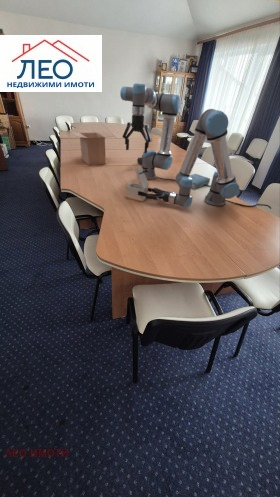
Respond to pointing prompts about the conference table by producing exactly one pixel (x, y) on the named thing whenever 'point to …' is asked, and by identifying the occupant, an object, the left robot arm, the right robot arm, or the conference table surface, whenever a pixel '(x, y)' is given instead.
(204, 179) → the book
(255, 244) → the conference table surface
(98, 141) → the box
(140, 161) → the laser sight
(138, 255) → the conference table surface
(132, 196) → the chest
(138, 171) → the lid
